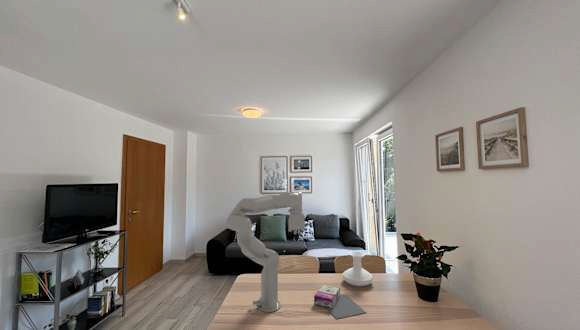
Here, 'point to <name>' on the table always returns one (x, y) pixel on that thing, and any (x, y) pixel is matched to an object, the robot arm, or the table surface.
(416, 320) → the table surface
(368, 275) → the candle holder
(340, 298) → the mat
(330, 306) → the candy bar box
